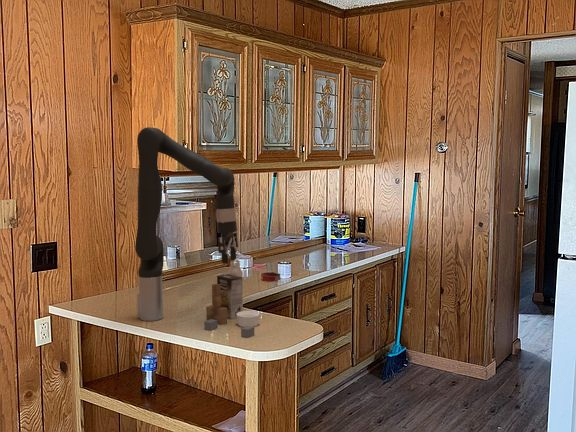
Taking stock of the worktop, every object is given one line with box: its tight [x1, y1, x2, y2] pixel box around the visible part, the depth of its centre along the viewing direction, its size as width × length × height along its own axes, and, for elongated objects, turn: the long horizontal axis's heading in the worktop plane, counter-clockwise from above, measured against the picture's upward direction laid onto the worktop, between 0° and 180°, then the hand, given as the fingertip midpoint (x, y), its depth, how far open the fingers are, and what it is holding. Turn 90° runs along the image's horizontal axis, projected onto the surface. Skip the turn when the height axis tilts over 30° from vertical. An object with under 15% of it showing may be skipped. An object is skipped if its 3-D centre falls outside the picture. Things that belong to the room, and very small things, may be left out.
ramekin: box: [236, 310, 260, 328], centre depth 240 cm, size 9×9×4 cm
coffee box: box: [216, 273, 244, 319], centre depth 253 cm, size 9×6×16 cm
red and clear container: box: [260, 263, 281, 283], centre depth 322 cm, size 11×10×10 cm
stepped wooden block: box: [205, 283, 228, 326], centre depth 242 cm, size 8×3×15 cm, turn 58°
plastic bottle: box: [226, 259, 244, 306], centre depth 265 cm, size 6×7×20 cm
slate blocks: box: [203, 319, 255, 339], centre depth 230 cm, size 20×4×3 cm, turn 58°
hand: (229, 261), depth 243 cm, fingers open, 8 cm apart
